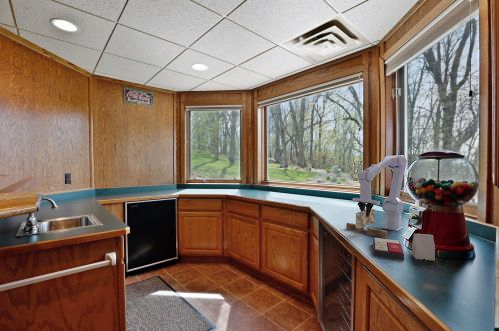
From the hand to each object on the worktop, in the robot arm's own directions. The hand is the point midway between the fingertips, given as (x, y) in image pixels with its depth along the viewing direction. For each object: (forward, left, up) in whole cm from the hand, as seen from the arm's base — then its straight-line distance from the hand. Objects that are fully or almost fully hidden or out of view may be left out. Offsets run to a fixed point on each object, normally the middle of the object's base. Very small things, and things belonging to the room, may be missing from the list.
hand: (365, 215), depth 130 cm
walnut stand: (0, 0, -10) cm, 10 cm away
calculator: (+19, +19, -10) cm, 29 cm away
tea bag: (+14, +31, -10) cm, 35 cm away
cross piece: (0, 0, -5) cm, 5 cm away
